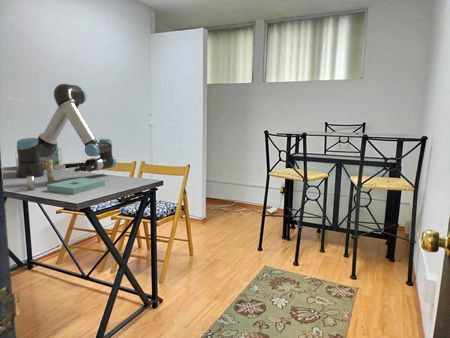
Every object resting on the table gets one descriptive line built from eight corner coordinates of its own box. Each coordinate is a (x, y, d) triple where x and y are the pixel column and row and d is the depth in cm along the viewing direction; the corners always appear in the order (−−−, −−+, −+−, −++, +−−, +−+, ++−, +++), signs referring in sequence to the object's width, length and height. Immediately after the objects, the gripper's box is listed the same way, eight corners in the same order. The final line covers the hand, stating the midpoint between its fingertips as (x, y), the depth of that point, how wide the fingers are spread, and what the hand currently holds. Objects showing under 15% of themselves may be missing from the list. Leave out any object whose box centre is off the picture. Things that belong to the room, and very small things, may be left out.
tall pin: (46, 185, 176) (44, 160, 174) (51, 184, 179) (49, 159, 176) (50, 186, 175) (48, 160, 172) (55, 184, 178) (53, 160, 175)
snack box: (29, 168, 226) (27, 147, 223) (34, 167, 232) (32, 146, 229) (59, 169, 226) (57, 148, 223) (63, 167, 232) (61, 147, 229)
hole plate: (47, 190, 164) (47, 185, 164) (80, 182, 185) (80, 177, 184) (74, 194, 158) (73, 188, 158) (105, 185, 179) (104, 180, 178)
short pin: (26, 190, 165) (25, 176, 164) (32, 188, 168) (30, 175, 167) (30, 190, 164) (29, 177, 162) (36, 189, 167) (35, 176, 165)
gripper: (107, 172, 193) (75, 178, 175) (81, 168, 205) (49, 173, 187) (106, 160, 192) (75, 165, 174) (80, 157, 204) (48, 160, 186)
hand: (61, 169), depth 180 cm, fingers open, 13 cm apart
